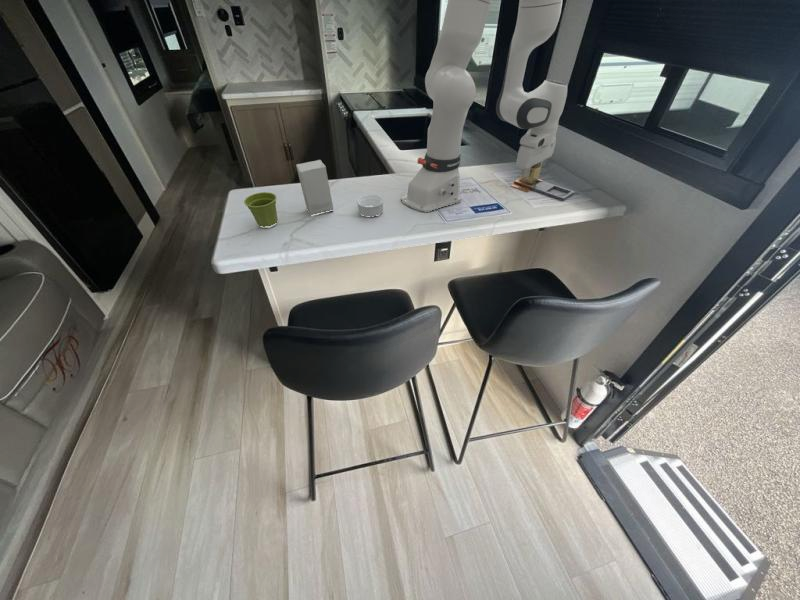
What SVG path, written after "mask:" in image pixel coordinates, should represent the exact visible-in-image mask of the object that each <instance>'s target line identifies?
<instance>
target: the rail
mask: <svg viewBox="0 0 800 600" xmlns="http://www.w3.org/2000/svg"><path fill="white" fill-rule="evenodd" d="M521 178H522V176H521V177H519V178H518V179H516V180H514V181H513V184H511V185H510V187H512V188H514V189H517V190H520V191H521V192H525V193H529V192H530V191H533V192H536V193H538V194H541V195H544V196H547V197H550V198H553V199H555V200H559V201H561V202H564V201H566V200H567V199H568V198H570V197H572V196H573V195H574V193H575V191H574V190H571V189H568V188H566V187H562V186H560V185H555V184H552V183H550V182H547V181H544V180H542V179H540V178H538V180H537V181H536V182H535V184H534V185H532V184H531V185H530V184H529V183H528V184H527V183H526V182H523V181H522V180H521ZM553 189H555V190H557V191H560V192H563V193H567V194H565V195H563V196H561V195H558V194H556V193H555V194H554V193H552V192H551V191H552V190H553Z"/></svg>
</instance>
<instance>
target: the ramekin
mask: <svg viewBox="0 0 800 600" xmlns="http://www.w3.org/2000/svg"><path fill="white" fill-rule="evenodd" d="M356 204H357V207H358V212H360V213H361V214H362V215H364V216H370V217H372V216H376V215H379V214H381V213H382V214H383V212H382V211H384V198H383V197H381V196H379V195H377V194H367V195H362V196H361V197H359V198H358V199H357V200H356ZM370 205H372V206H373V207H365V206H370ZM360 213H359V214H360ZM382 214H381V215H382ZM362 215H361V216H362ZM379 216H380V215H379Z"/></svg>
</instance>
